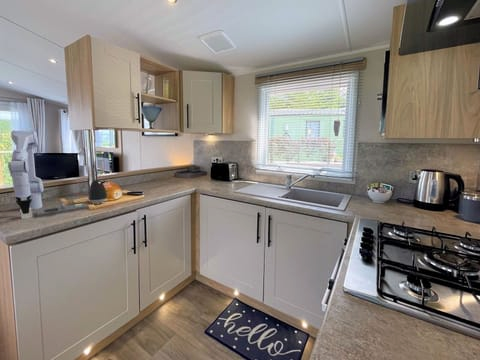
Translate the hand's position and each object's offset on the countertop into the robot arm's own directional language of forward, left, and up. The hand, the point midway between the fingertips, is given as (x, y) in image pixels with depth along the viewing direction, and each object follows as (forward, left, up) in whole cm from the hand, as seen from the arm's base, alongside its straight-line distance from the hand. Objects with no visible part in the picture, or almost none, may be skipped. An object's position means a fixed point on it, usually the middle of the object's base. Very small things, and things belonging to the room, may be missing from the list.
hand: (25, 211), depth 116 cm
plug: (0, 0, -4) cm, 4 cm away
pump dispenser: (-8, +34, -4) cm, 35 cm away
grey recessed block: (0, +15, -4) cm, 15 cm away
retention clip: (+3, +15, +3) cm, 16 cm away
